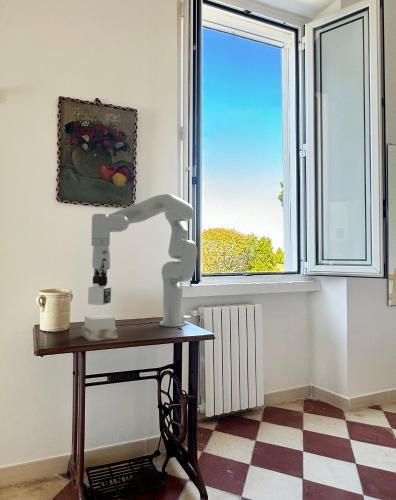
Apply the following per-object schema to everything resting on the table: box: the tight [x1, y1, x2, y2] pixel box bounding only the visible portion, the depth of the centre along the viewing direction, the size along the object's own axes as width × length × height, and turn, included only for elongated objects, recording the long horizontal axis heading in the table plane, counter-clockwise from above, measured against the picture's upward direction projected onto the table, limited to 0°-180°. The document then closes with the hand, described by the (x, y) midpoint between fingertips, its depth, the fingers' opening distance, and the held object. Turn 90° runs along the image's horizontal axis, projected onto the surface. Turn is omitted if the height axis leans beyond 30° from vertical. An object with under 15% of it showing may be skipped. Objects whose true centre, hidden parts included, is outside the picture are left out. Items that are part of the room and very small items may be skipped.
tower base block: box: [81, 325, 119, 342], centre depth 164 cm, size 12×12×4 cm
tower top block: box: [84, 313, 116, 331], centre depth 164 cm, size 10×10×4 cm
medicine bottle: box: [87, 275, 112, 306], centre depth 164 cm, size 7×7×12 cm
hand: (100, 284), depth 164 cm, fingers closed on medicine bottle, 6 cm apart
